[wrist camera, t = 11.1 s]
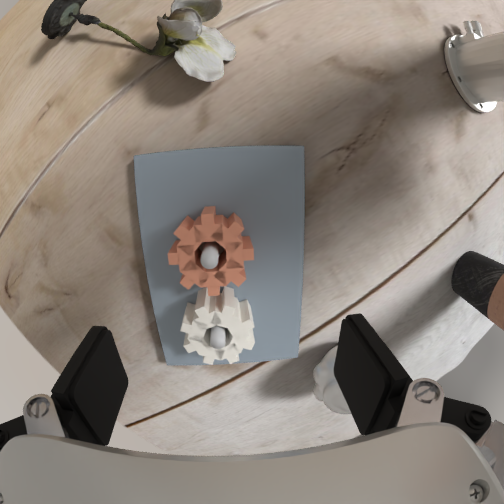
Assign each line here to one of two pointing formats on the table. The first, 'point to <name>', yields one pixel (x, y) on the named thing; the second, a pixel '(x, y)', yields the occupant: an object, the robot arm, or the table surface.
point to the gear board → (255, 225)
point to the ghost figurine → (329, 384)
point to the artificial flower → (163, 34)
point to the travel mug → (481, 285)
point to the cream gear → (222, 314)
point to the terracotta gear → (228, 261)
